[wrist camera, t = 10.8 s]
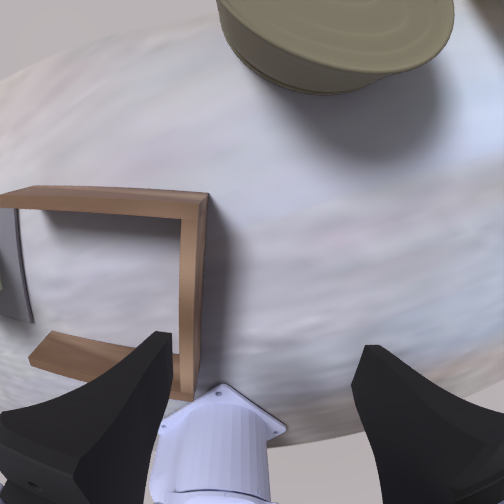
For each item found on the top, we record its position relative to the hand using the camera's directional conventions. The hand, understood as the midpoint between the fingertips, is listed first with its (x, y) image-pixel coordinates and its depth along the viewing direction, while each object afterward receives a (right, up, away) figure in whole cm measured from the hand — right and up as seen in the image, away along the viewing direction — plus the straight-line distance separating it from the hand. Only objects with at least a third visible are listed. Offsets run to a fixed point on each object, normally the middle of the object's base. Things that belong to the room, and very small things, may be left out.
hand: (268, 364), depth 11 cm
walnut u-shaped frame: (-11, +2, +9) cm, 14 cm away
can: (+3, +19, +4) cm, 20 cm away
